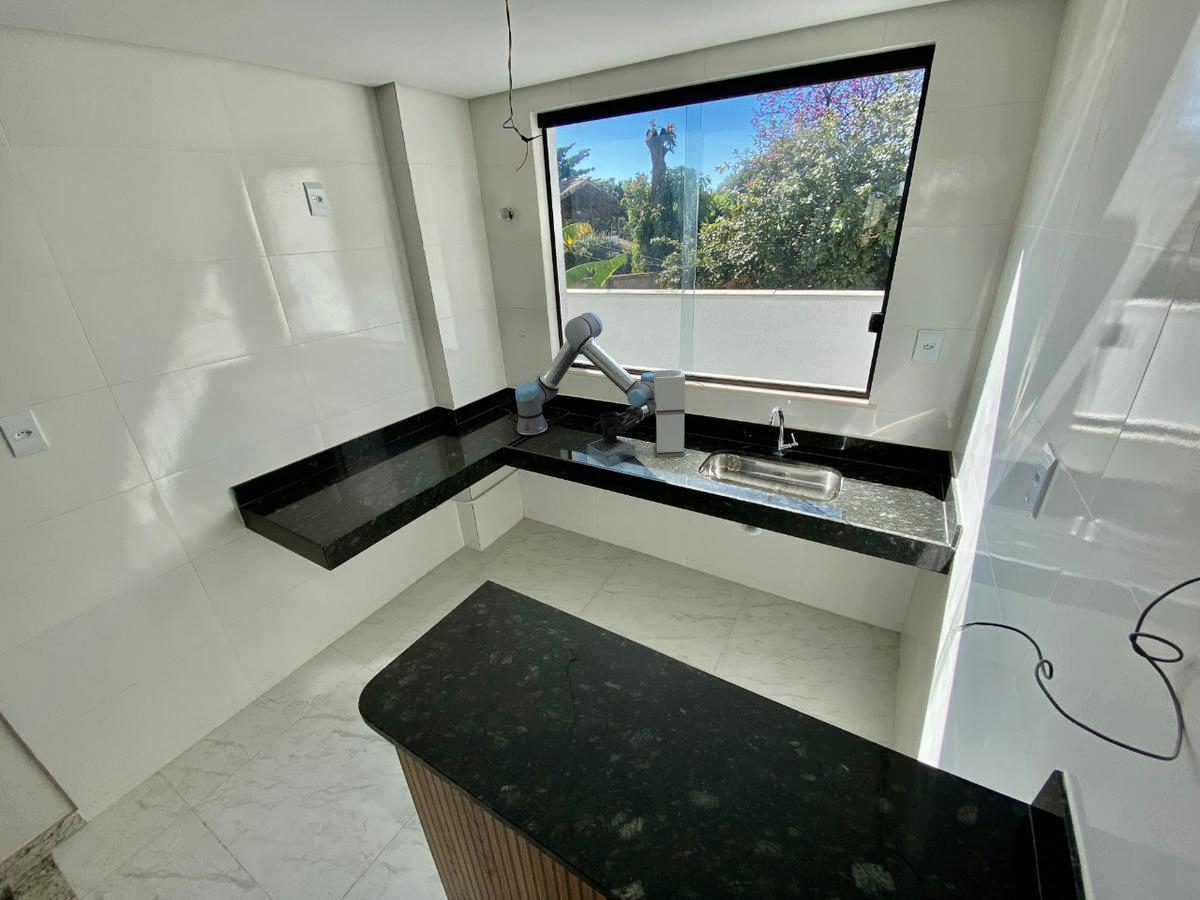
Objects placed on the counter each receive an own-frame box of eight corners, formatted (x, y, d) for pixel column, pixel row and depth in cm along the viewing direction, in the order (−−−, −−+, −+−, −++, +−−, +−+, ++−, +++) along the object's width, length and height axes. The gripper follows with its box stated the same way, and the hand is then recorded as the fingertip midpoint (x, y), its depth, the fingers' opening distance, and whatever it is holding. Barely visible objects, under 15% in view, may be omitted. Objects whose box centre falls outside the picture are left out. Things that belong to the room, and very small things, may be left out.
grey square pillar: (680, 445, 216) (681, 368, 201) (683, 455, 206) (685, 376, 191) (655, 446, 216) (654, 370, 201) (656, 456, 207) (656, 378, 192)
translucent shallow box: (587, 453, 214) (586, 444, 212) (612, 444, 221) (611, 435, 219) (609, 466, 202) (608, 456, 200) (635, 455, 209) (634, 446, 207)
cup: (619, 437, 211) (618, 411, 206) (618, 444, 204) (617, 418, 199) (602, 437, 212) (600, 412, 207) (600, 445, 205) (598, 418, 200)
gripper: (654, 426, 212) (620, 444, 197) (619, 416, 225) (584, 432, 210) (654, 410, 208) (619, 427, 194) (618, 400, 222) (583, 416, 207)
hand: (601, 429), depth 202 cm, fingers closed on cup, 8 cm apart
